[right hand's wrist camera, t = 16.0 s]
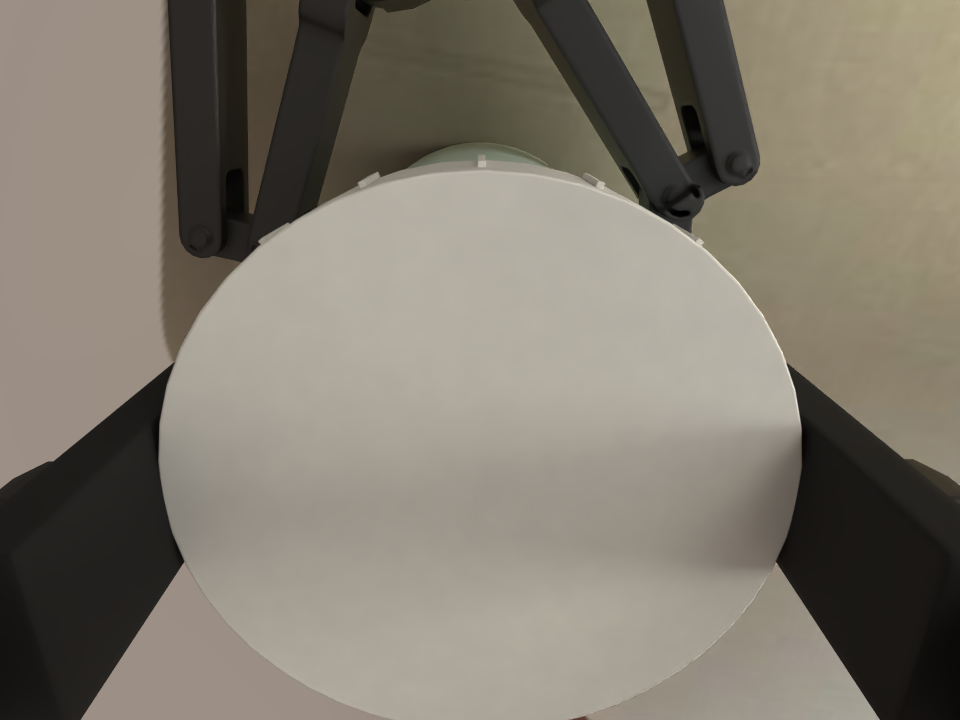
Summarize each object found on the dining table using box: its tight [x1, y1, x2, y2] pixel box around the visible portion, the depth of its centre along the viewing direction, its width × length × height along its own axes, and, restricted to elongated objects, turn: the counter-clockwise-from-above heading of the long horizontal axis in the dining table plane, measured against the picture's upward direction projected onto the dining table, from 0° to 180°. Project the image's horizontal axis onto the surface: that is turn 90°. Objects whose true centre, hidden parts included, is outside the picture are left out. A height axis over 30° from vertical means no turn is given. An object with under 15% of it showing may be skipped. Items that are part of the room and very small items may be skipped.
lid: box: [158, 155, 802, 720], centre depth 11 cm, size 10×10×2 cm
